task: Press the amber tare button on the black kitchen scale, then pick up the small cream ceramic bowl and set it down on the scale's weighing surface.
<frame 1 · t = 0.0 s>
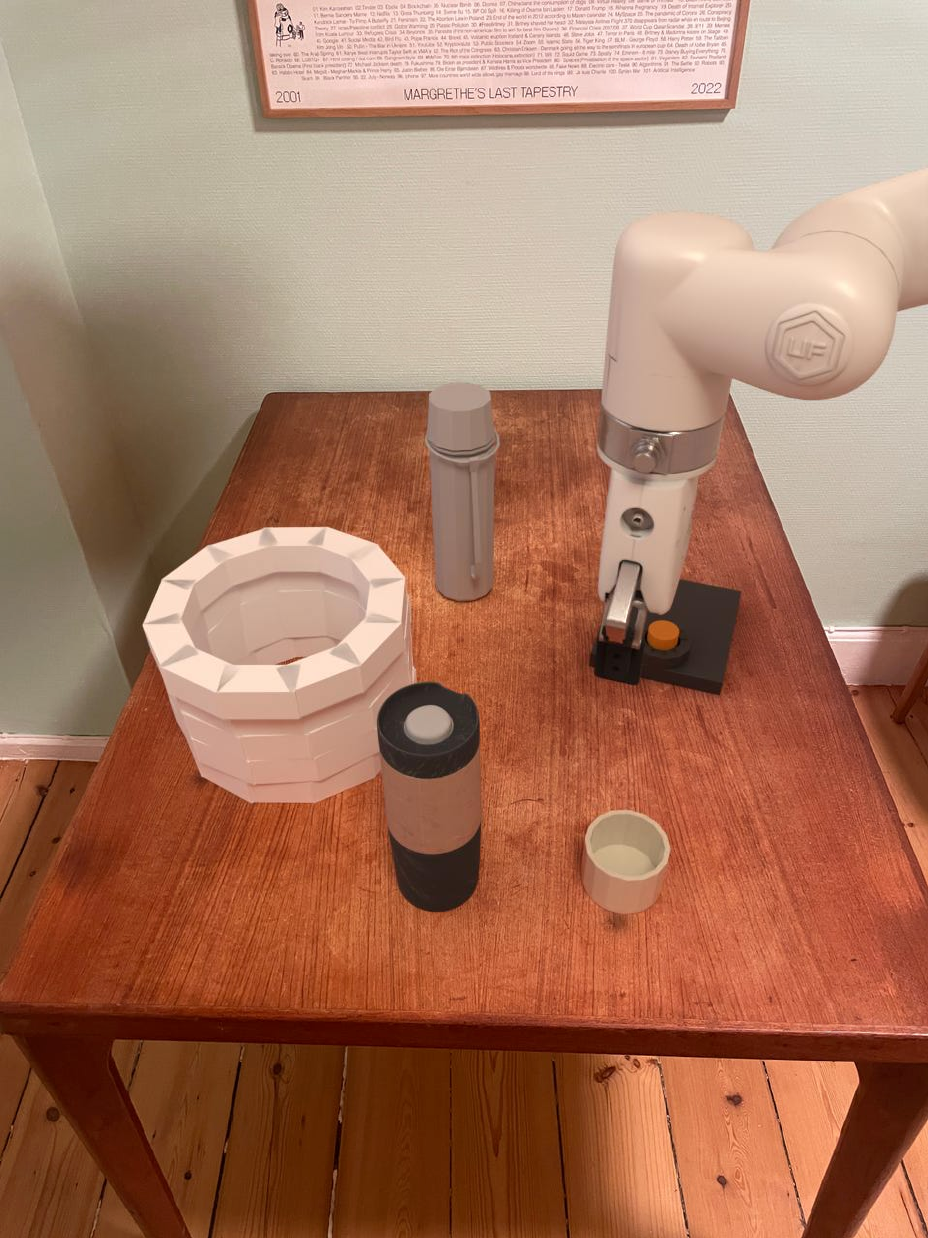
hand: (630, 635, 67), 23 cm above the table, tool pointing down, fingers open, 9 cm apart
travel mug: (438, 877, 77), on the table
scale: (666, 633, 101), on the table
bowl: (621, 878, 77), on the table
container: (302, 718, 92), on the table
tare button: (663, 635, 95), point 4 cm above the table, slide at 0.1 cm
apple: (468, 496, 124), on the table
water bottle: (466, 592, 107), on the table
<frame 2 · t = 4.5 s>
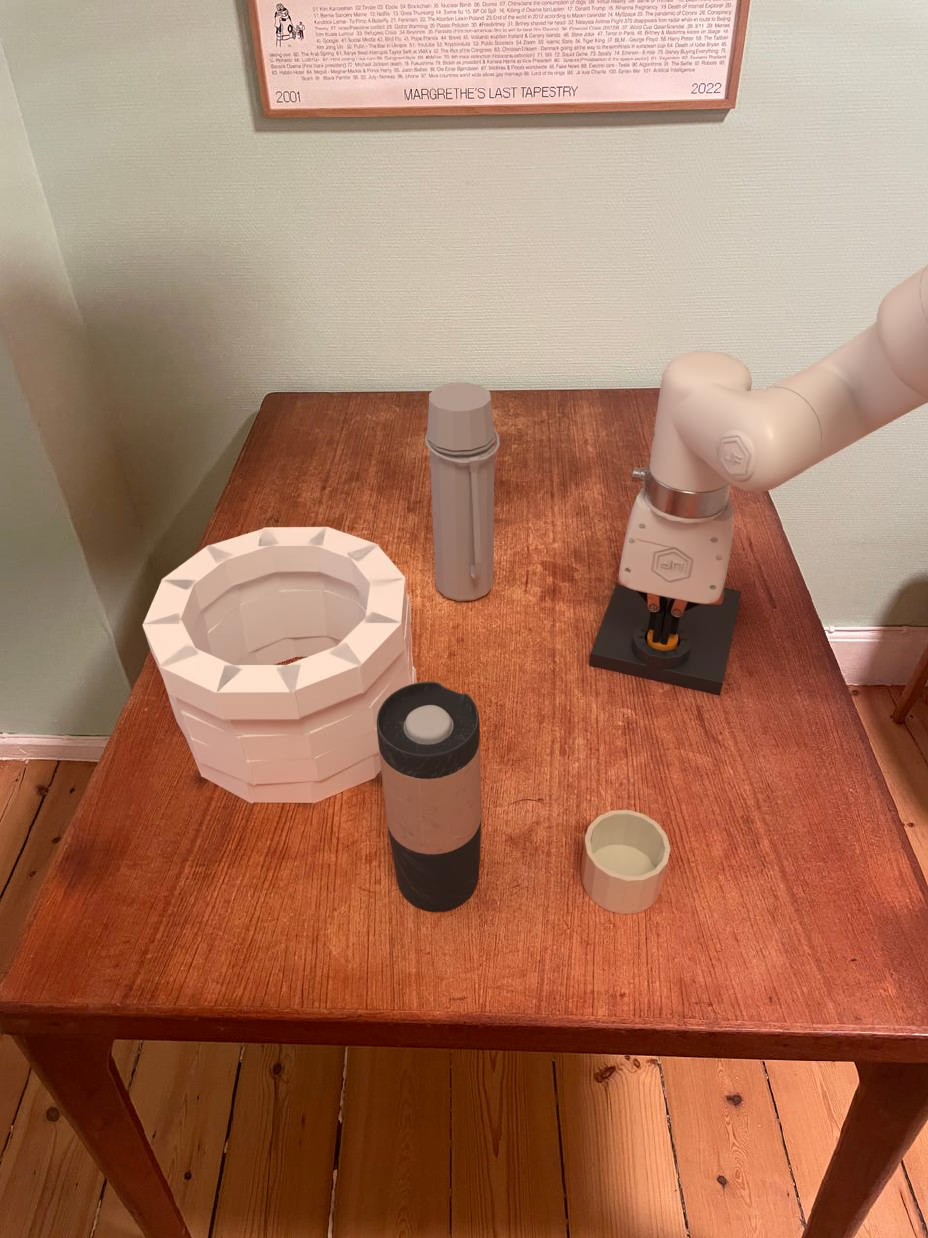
hand: (661, 635, 95), 4 cm above the table, tool pointing down, fingers closed
tare button: (662, 641, 95), point 3 cm above the table, slide at -0.7 cm, touching gripper
everything else where it was.
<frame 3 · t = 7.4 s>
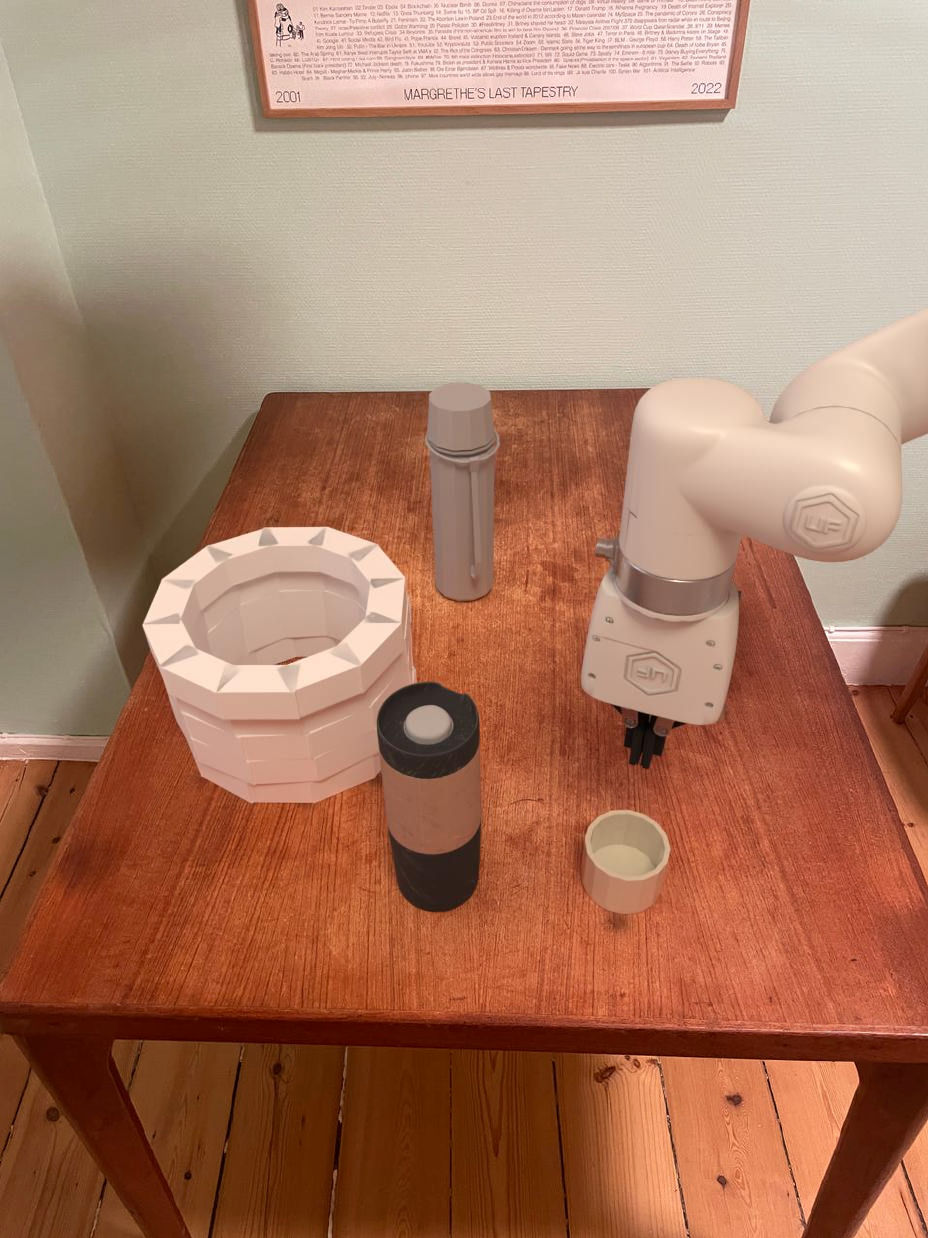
hand: (642, 754, 70), 13 cm above the table, tool pointing down, fingers closed
tare button: (663, 635, 95), point 4 cm above the table, slide at 0.1 cm
everything else where it was.
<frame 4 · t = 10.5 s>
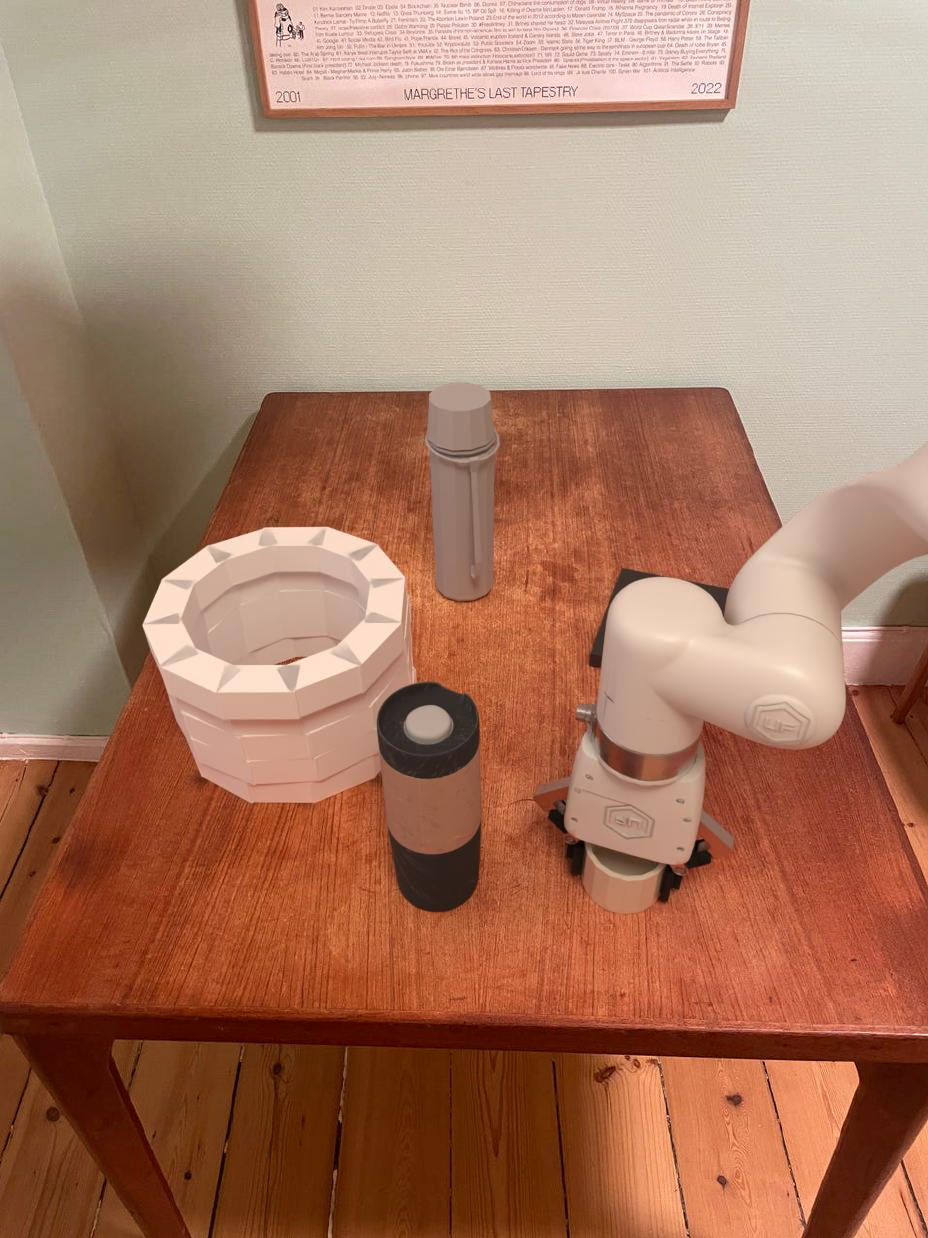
hand: (622, 873, 76), 1 cm above the table, tool pointing down, fingers closed on bowl, 7 cm apart
bowl: (621, 878, 77), on the table, touching gripper
everything else where it was.
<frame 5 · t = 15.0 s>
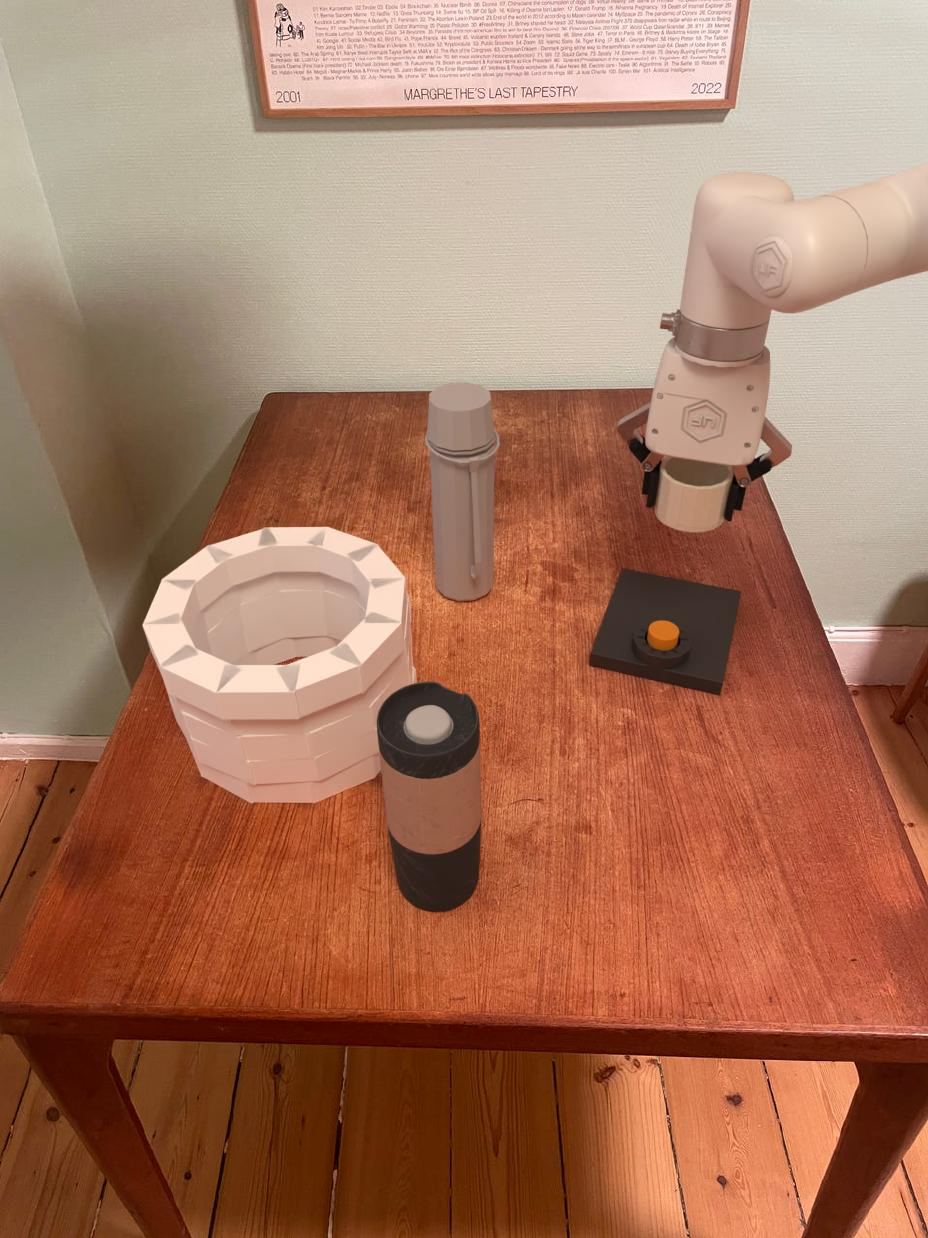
hand: (690, 505, 88), 18 cm above the table, tool pointing down, fingers closed on bowl, 7 cm apart
bowl: (689, 512, 89), point 17 cm above the table, touching gripper
everything else where it was.
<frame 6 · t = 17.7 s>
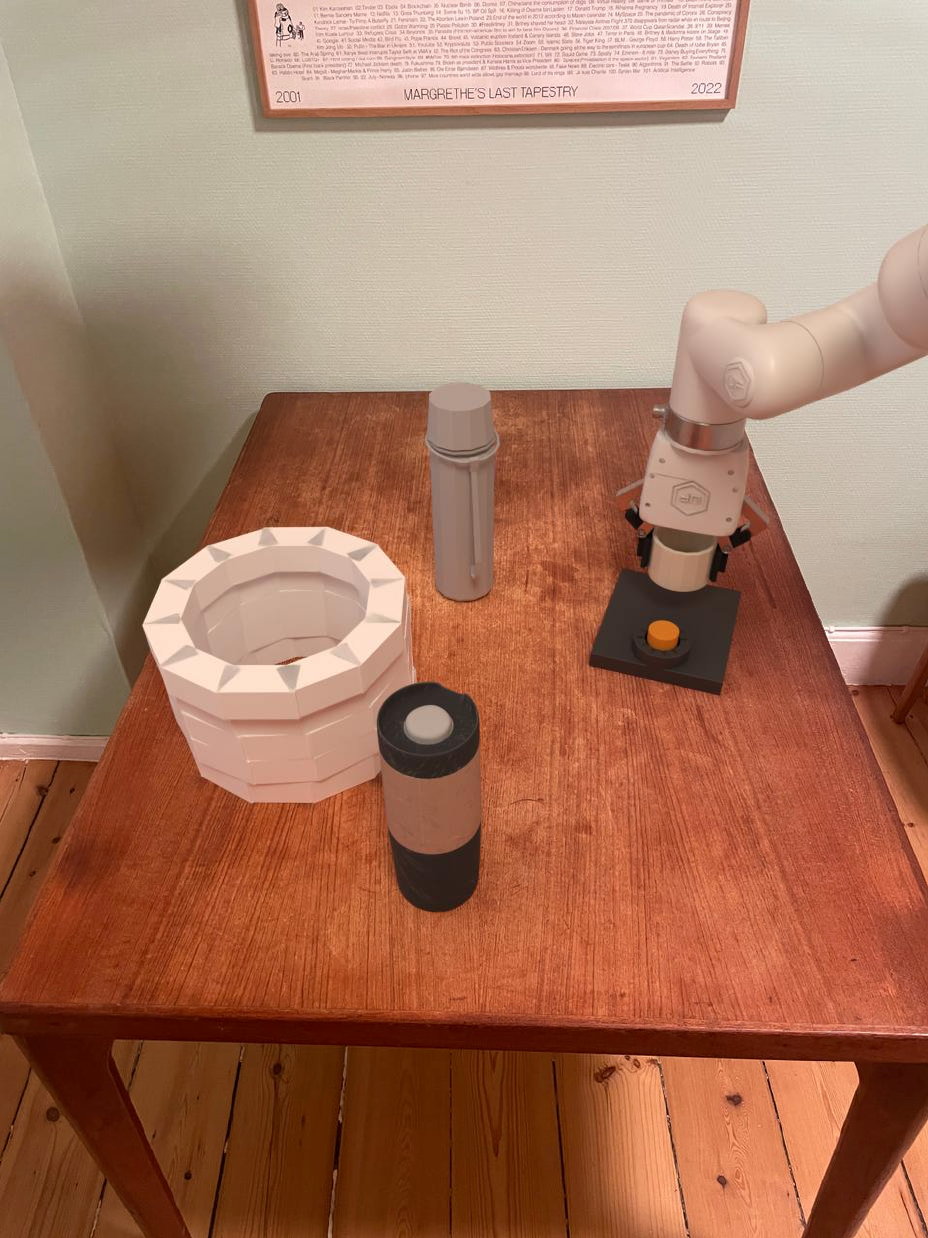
hand: (679, 567, 99), 7 cm above the table, tool pointing down, fingers closed on bowl, 7 cm apart
bowl: (678, 572, 99), point 6 cm above the table, touching gripper
everything else where it was.
when the fingers open (3 cm above the table, at t = 19.6 s): bowl stays where it is, resting on scale.
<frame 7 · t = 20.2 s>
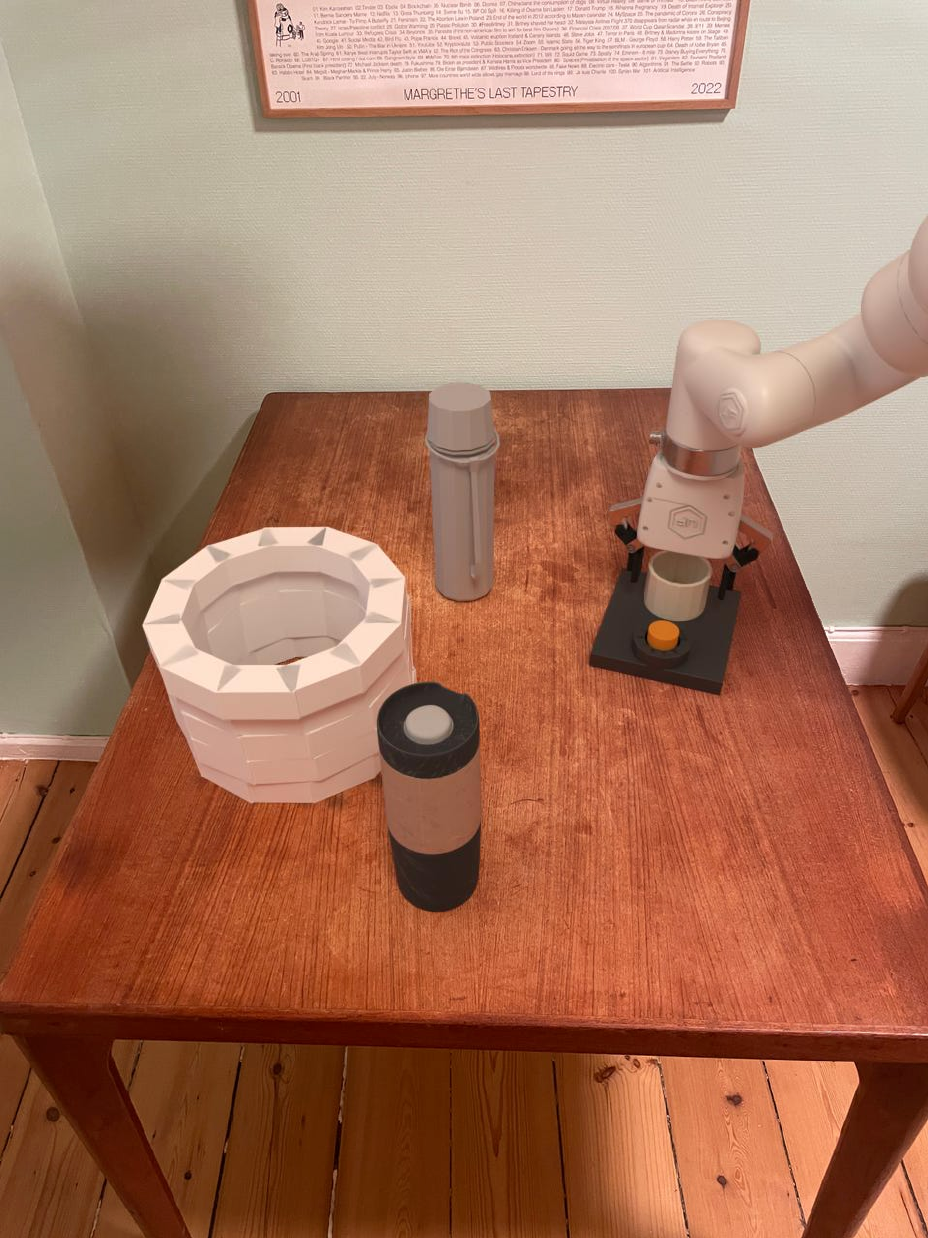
hand: (678, 584, 100), 5 cm above the table, tool pointing down, fingers open, 9 cm apart
bowl: (674, 602, 102), point 2 cm above the table, touching scale
everything else where it was.
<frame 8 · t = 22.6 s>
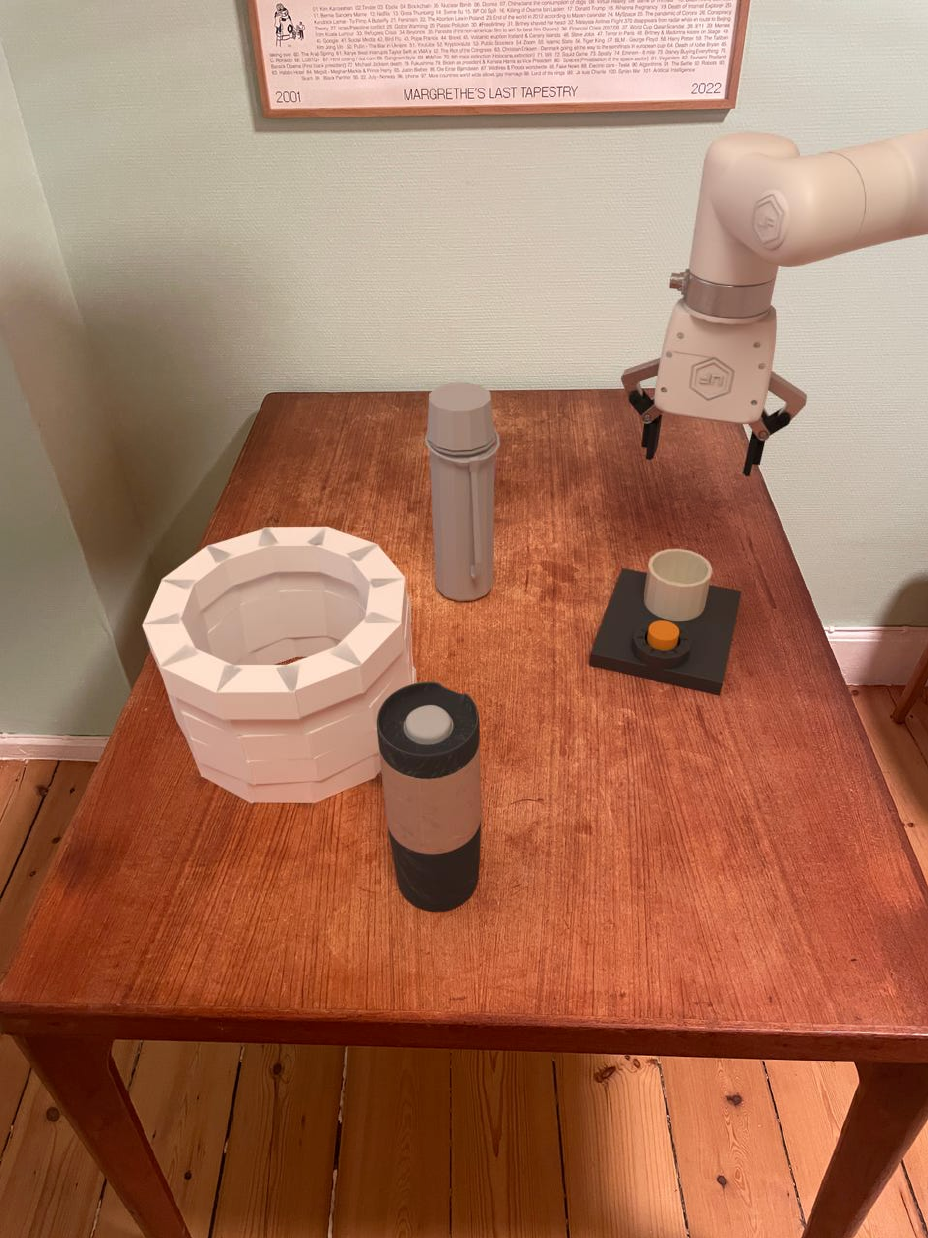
hand: (698, 461, 90), 20 cm above the table, tool pointing down, fingers open, 9 cm apart
nothing on the table moved.
at the end: tare button pushed in 0.9 cm at the most during the clip, back to where it started at the end; bowl inside the target area on the scale (0.0 cm from its centre), point 1.9 cm above the scale's base; bowl touching scale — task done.
